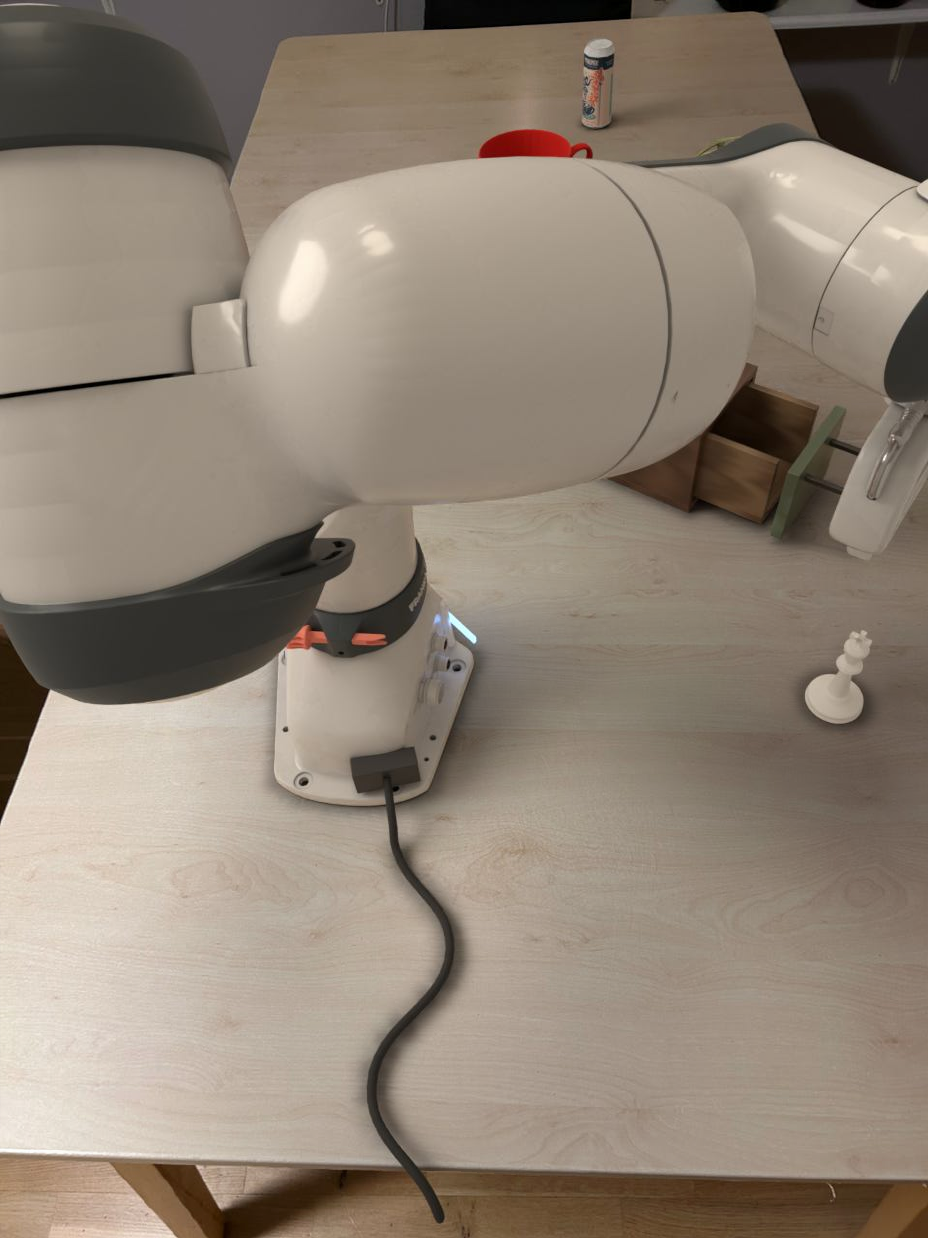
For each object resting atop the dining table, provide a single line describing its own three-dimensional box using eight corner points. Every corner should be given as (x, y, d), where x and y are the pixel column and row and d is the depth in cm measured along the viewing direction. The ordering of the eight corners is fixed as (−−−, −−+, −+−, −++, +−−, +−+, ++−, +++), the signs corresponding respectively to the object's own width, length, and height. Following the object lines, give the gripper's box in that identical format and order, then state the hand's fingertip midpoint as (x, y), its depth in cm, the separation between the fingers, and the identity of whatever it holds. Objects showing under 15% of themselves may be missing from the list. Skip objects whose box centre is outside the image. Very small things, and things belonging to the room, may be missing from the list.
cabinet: (741, 444, 105) (758, 366, 96) (687, 512, 99) (701, 435, 90) (626, 400, 110) (633, 323, 102) (570, 462, 105) (572, 386, 96)
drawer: (875, 492, 97) (900, 427, 90) (831, 561, 92) (854, 497, 85) (710, 430, 105) (722, 365, 98) (661, 490, 100) (670, 426, 93)
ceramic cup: (609, 221, 135) (614, 152, 127) (502, 251, 132) (500, 182, 124) (570, 182, 143) (572, 114, 135) (468, 210, 140) (464, 142, 132)
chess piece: (820, 668, 85) (848, 599, 78) (872, 696, 83) (906, 628, 75) (794, 704, 83) (820, 637, 75) (846, 733, 81) (879, 668, 73)
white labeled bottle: (576, 121, 155) (578, 41, 145) (601, 114, 156) (605, 34, 146) (590, 132, 152) (593, 52, 143) (616, 125, 153) (621, 44, 144)
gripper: (944, 469, 51) (874, 623, 62) (1051, 286, 61) (974, 446, 72) (834, 430, 54) (785, 584, 65) (952, 260, 64) (893, 419, 74)
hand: (885, 510), depth 68 cm, fingers open, 8 cm apart
